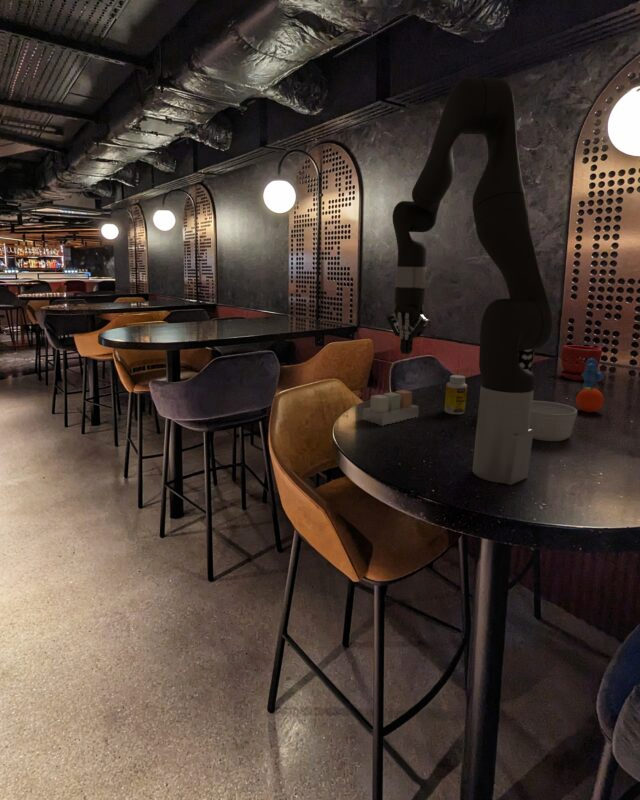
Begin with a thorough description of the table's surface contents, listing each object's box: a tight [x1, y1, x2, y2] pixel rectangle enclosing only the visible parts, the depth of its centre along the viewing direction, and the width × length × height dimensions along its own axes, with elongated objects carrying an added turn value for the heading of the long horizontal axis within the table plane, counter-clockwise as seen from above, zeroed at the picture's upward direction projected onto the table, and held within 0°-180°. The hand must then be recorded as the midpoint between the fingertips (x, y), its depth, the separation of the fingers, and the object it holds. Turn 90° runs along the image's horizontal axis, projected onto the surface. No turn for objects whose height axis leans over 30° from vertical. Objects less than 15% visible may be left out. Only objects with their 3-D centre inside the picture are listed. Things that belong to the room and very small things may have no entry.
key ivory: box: [369, 394, 389, 413], centre depth 129 cm, size 3×3×4 cm
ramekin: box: [529, 400, 578, 442], centre depth 121 cm, size 13×13×7 cm
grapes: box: [581, 358, 605, 390], centre depth 164 cm, size 12×7×12 cm, turn 151°
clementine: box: [575, 387, 605, 413], centre depth 143 cm, size 8×7×7 cm
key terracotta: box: [394, 389, 413, 407], centre depth 135 cm, size 3×3×4 cm
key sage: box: [382, 391, 401, 410], centre depth 132 cm, size 3×3×4 cm
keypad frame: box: [361, 403, 420, 427], centre depth 133 cm, size 7×14×3 cm, turn 130°
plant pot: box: [560, 344, 603, 381], centre depth 189 cm, size 13×13×12 cm
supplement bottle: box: [443, 374, 468, 415], centre depth 139 cm, size 6×6×10 cm
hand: (405, 353), depth 132 cm, fingers closed
